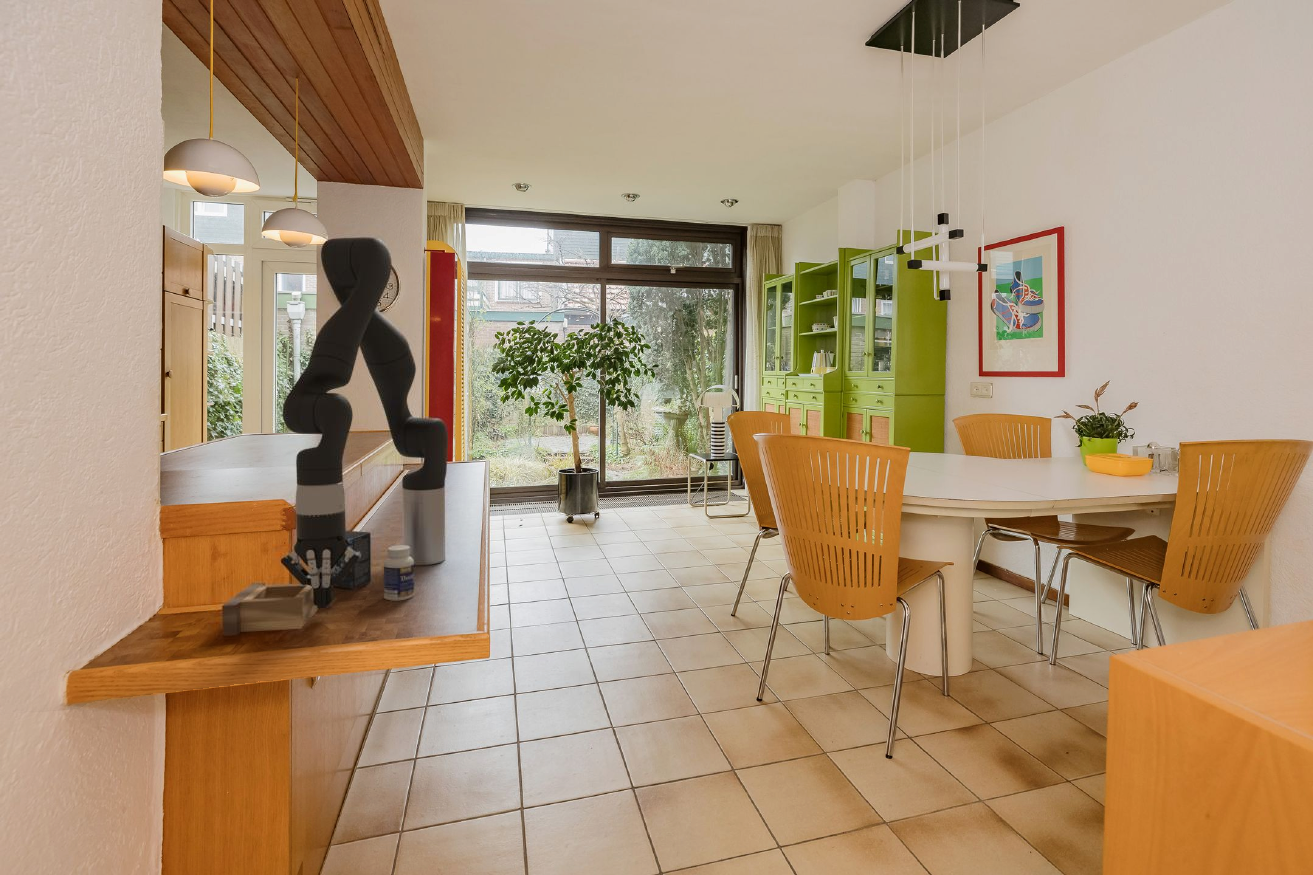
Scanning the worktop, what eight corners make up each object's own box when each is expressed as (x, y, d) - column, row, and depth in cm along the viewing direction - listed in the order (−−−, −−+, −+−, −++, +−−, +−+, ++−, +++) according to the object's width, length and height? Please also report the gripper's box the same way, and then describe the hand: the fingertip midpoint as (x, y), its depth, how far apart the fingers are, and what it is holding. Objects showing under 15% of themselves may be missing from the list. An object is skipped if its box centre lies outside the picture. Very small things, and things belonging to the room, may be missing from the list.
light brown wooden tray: (262, 612, 114) (261, 585, 114) (317, 610, 116) (316, 583, 116) (240, 631, 106) (239, 602, 105) (300, 628, 108) (300, 599, 107)
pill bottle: (403, 602, 121) (403, 551, 120) (378, 600, 122) (377, 549, 122) (419, 593, 126) (419, 545, 126) (395, 591, 128) (394, 543, 127)
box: (319, 586, 130) (318, 534, 129) (339, 578, 135) (338, 528, 134) (353, 590, 128) (352, 537, 127) (372, 581, 134) (371, 531, 133)
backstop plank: (253, 610, 116) (252, 583, 115) (265, 609, 116) (264, 582, 116) (223, 635, 104) (222, 605, 103) (236, 635, 104) (235, 605, 104)
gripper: (367, 504, 116) (369, 598, 117) (286, 505, 113) (289, 602, 115) (356, 512, 109) (358, 612, 110) (270, 514, 106) (273, 617, 107)
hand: (323, 607), depth 112 cm, fingers closed
